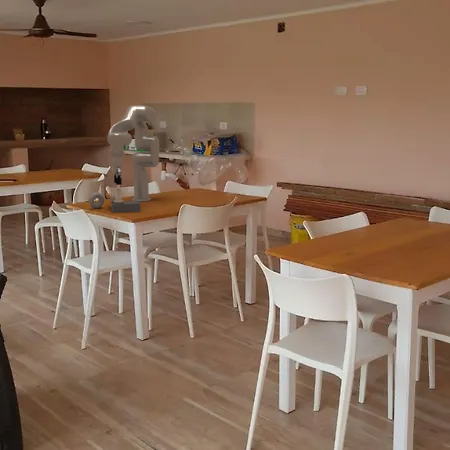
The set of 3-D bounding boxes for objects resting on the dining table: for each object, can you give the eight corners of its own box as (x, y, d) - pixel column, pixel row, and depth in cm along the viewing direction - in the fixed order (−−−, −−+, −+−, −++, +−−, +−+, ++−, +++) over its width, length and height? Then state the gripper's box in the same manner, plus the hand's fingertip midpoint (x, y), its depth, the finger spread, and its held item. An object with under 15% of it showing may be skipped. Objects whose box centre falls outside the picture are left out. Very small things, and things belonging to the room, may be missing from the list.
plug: (113, 210, 368) (112, 188, 365) (123, 209, 369) (122, 188, 367) (114, 211, 362) (113, 190, 359) (124, 211, 364) (124, 189, 361)
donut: (90, 209, 368) (89, 193, 366) (88, 208, 371) (87, 192, 369) (105, 208, 374) (105, 191, 372) (103, 207, 377) (102, 191, 375)
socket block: (111, 209, 370) (110, 199, 368) (137, 208, 374) (137, 198, 373) (113, 212, 359) (112, 201, 358) (140, 211, 364) (140, 200, 362)
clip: (111, 199, 365) (110, 196, 364) (106, 196, 378) (105, 193, 378) (115, 199, 366) (114, 196, 365) (109, 196, 379) (109, 192, 379)
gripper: (109, 153, 366) (109, 182, 369) (112, 155, 350) (113, 185, 353) (121, 153, 368) (122, 182, 371) (125, 155, 352) (126, 185, 355)
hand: (117, 183), depth 362 cm, fingers open, 9 cm apart
